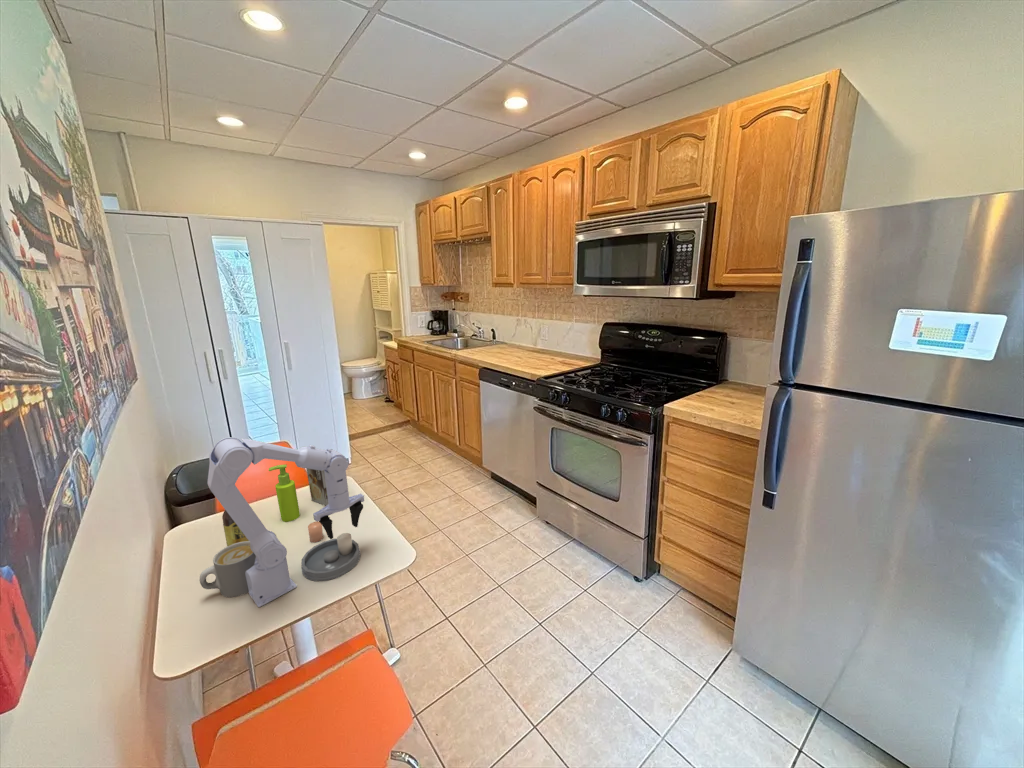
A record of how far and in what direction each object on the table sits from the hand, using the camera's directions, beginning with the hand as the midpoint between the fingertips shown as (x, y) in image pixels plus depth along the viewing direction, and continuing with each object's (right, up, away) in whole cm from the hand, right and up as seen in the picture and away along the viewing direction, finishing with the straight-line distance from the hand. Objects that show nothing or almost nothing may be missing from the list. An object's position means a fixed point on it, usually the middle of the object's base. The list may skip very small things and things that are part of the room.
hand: (343, 531), depth 121 cm
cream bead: (0, -7, +2) cm, 7 cm away
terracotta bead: (-13, -6, +10) cm, 17 cm away
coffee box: (-21, 0, +33) cm, 39 cm away
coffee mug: (-26, -12, -10) cm, 30 cm away
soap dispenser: (-28, -3, +22) cm, 36 cm away
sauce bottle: (-34, -8, +5) cm, 35 cm away
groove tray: (-3, -9, -1) cm, 9 cm away
